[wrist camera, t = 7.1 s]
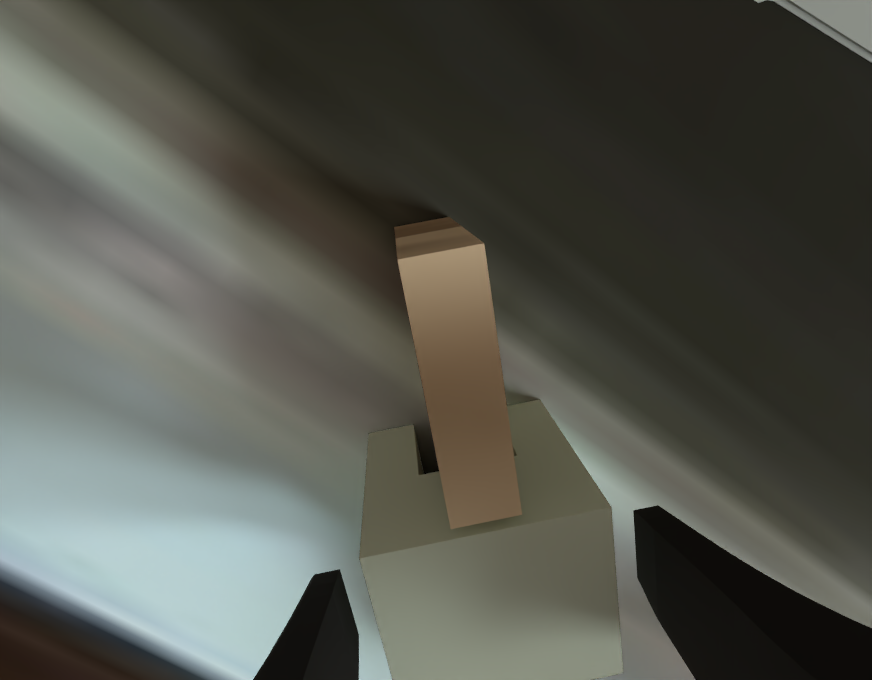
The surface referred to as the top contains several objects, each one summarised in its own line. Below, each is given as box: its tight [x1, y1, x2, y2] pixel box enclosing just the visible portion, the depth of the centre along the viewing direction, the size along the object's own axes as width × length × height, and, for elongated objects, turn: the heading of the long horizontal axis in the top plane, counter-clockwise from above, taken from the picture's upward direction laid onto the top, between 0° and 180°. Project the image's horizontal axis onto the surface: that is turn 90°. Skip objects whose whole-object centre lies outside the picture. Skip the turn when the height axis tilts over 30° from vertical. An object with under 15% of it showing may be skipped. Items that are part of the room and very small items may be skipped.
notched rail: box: [394, 217, 522, 529], centre depth 13 cm, size 16×1×5 cm, turn 10°
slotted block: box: [359, 399, 623, 680], centre depth 13 cm, size 4×5×5 cm
